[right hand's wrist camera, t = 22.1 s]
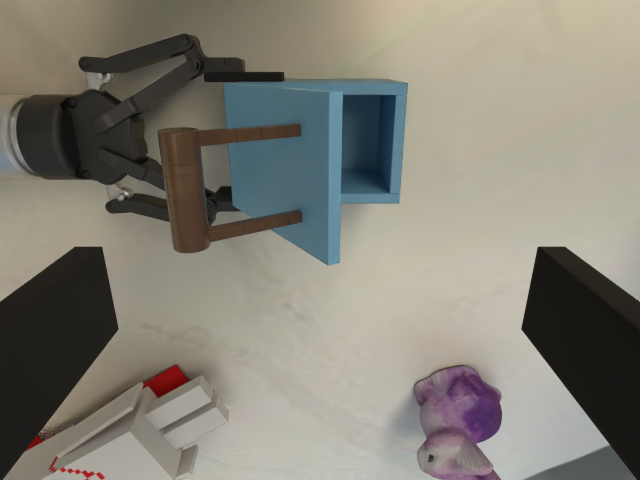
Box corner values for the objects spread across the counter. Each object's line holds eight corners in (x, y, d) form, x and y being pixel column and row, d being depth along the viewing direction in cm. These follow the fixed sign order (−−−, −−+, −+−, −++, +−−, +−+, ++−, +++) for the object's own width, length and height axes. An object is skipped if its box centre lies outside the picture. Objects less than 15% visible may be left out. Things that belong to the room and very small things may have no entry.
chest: (388, 79, 44) (407, 83, 34) (383, 174, 47) (399, 203, 37) (250, 79, 44) (229, 82, 34) (255, 174, 47) (238, 203, 37)
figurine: (395, 400, 58) (419, 504, 45) (447, 348, 55) (489, 443, 41) (448, 431, 60) (486, 541, 47) (500, 383, 57) (558, 485, 44)
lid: (343, 91, 23) (172, 97, 18) (339, 262, 26) (197, 303, 22) (233, 83, 34) (111, 85, 29) (242, 204, 37) (134, 223, 33)
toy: (237, 466, 50) (17, 583, 51) (243, 392, 63) (66, 488, 64) (176, 391, 46) (-60, 520, 47) (195, 328, 59) (8, 432, 60)
